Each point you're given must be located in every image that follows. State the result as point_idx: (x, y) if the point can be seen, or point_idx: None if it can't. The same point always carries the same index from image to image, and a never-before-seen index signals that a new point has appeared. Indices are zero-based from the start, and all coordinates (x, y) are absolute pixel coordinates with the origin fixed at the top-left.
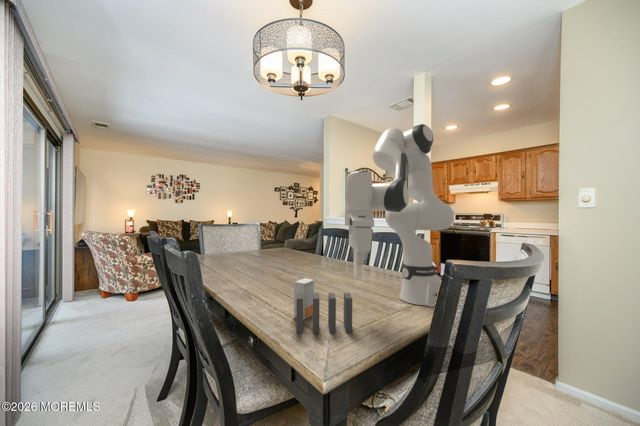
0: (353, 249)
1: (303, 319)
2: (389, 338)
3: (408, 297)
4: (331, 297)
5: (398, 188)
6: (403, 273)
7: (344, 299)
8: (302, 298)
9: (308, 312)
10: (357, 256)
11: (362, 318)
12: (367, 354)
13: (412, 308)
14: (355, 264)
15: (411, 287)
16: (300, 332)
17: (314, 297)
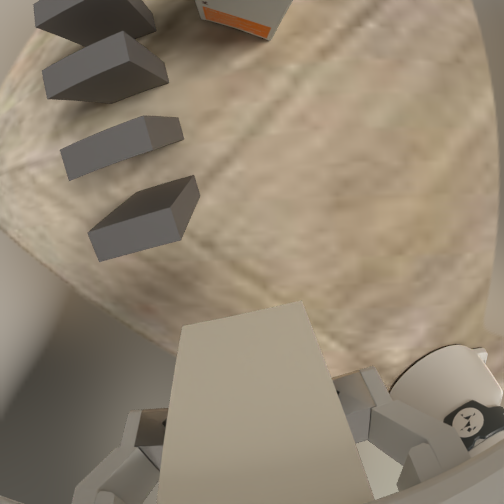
0: (413, 464)
1: (200, 17)
2: (144, 317)
3: (417, 378)
4: (75, 154)
5: None
6: (473, 413)
7: (149, 207)
8: (38, 23)
9: (230, 22)
10: (94, 473)
11: (271, 240)
12: (49, 262)
13: None
14: (227, 386)
15: (427, 407)
16: None
17: (56, 68)
